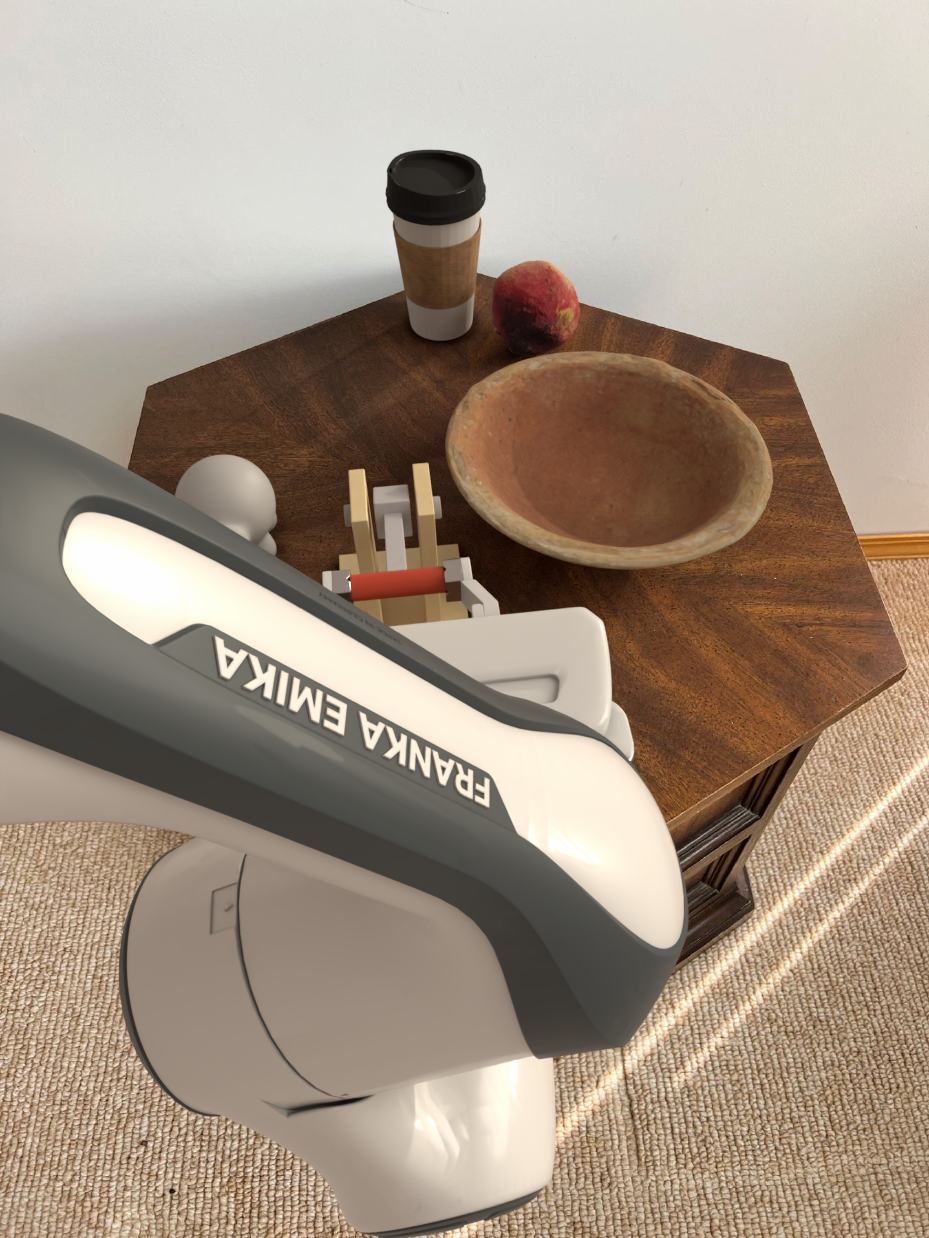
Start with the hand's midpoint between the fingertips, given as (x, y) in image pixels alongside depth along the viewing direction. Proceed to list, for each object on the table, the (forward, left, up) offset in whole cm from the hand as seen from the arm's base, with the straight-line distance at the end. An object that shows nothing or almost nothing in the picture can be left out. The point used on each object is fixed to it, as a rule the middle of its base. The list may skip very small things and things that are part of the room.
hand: (396, 571), depth 51 cm
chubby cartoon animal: (-12, +15, -16) cm, 25 cm away
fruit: (+14, +38, -16) cm, 44 cm away
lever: (0, +3, -3) cm, 5 cm away
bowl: (+16, +17, -16) cm, 29 cm away
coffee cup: (+6, +43, -16) cm, 47 cm away
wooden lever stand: (0, +8, -16) cm, 18 cm away
